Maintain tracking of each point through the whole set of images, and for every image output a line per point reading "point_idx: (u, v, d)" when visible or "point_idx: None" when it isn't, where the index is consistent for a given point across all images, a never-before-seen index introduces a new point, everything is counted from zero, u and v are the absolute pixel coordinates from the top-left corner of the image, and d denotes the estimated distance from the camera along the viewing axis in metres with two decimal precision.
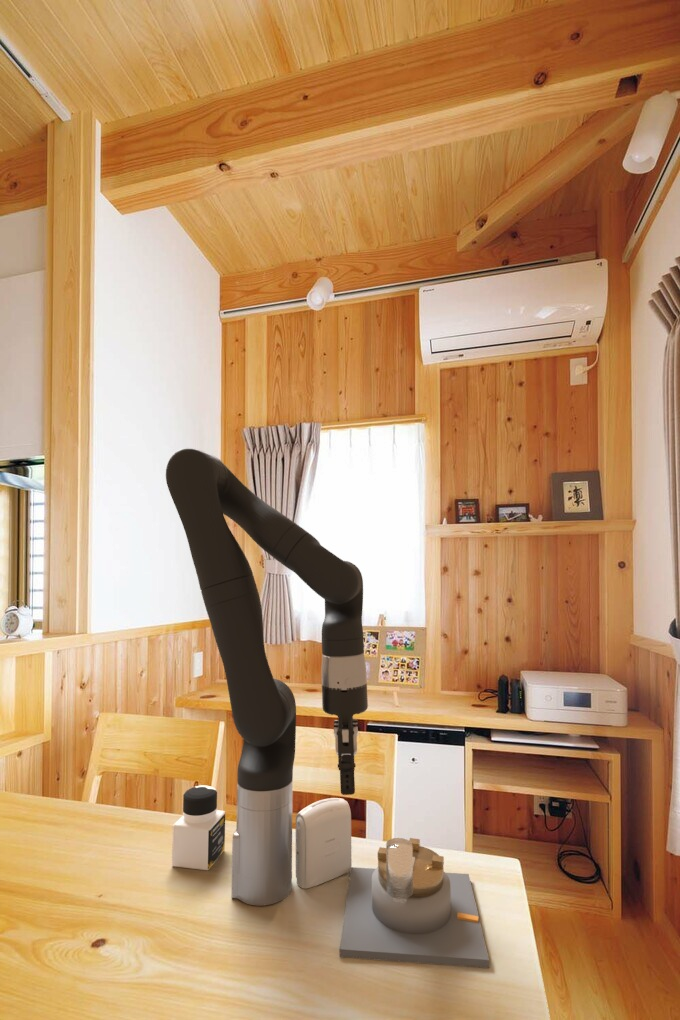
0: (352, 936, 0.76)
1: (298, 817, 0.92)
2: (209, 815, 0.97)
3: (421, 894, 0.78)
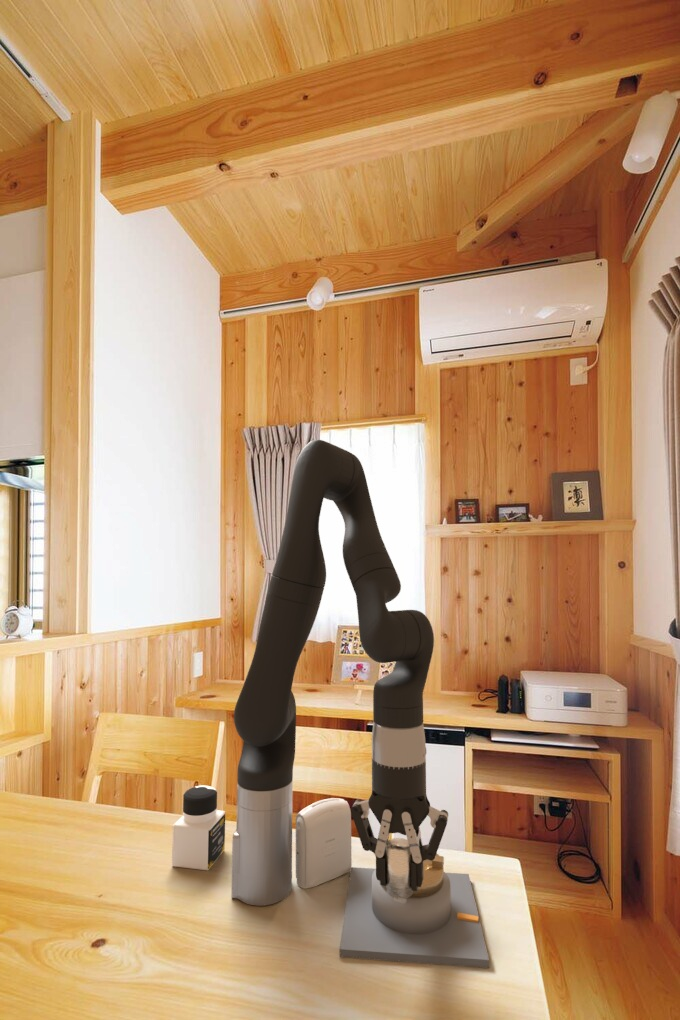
0: (352, 936, 0.76)
1: (298, 817, 0.92)
2: (209, 815, 0.97)
3: (421, 894, 0.78)
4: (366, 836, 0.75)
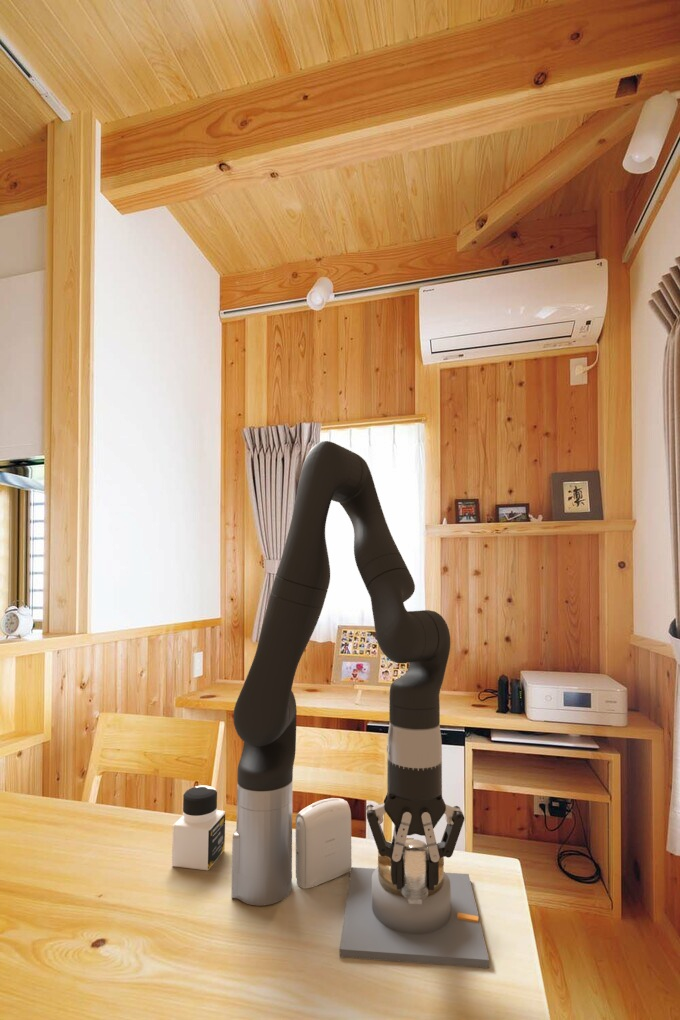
0: (352, 936, 0.76)
1: (298, 817, 0.92)
2: (209, 815, 0.97)
3: (427, 893, 0.79)
4: (383, 841, 0.73)
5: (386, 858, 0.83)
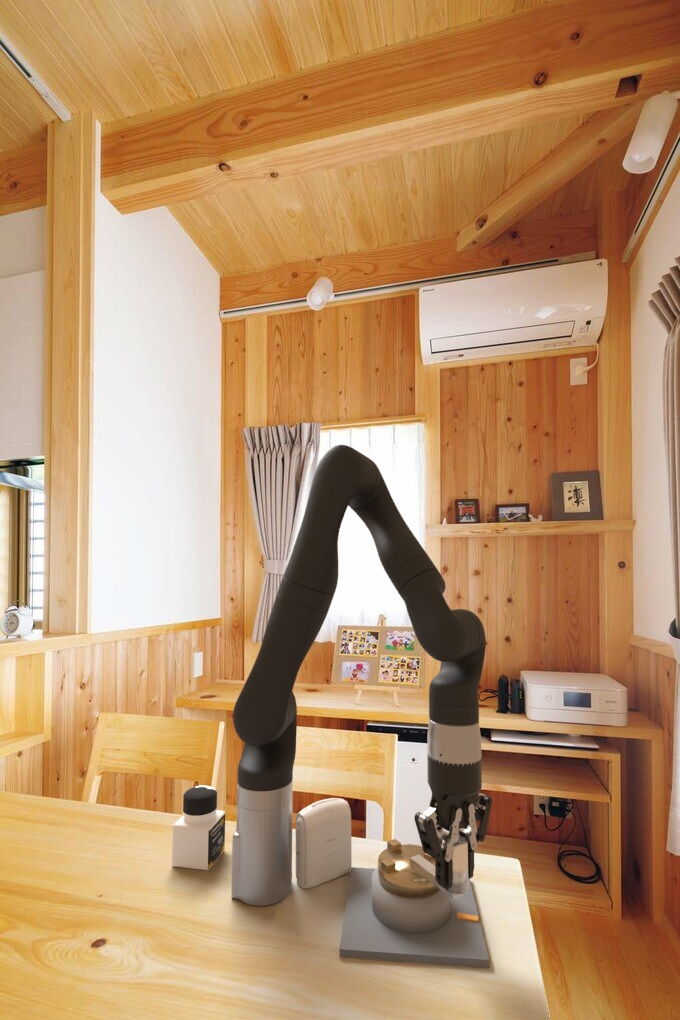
0: (352, 936, 0.76)
1: (298, 817, 0.92)
2: (209, 815, 0.97)
3: None
4: (439, 845, 0.72)
5: (394, 866, 0.81)
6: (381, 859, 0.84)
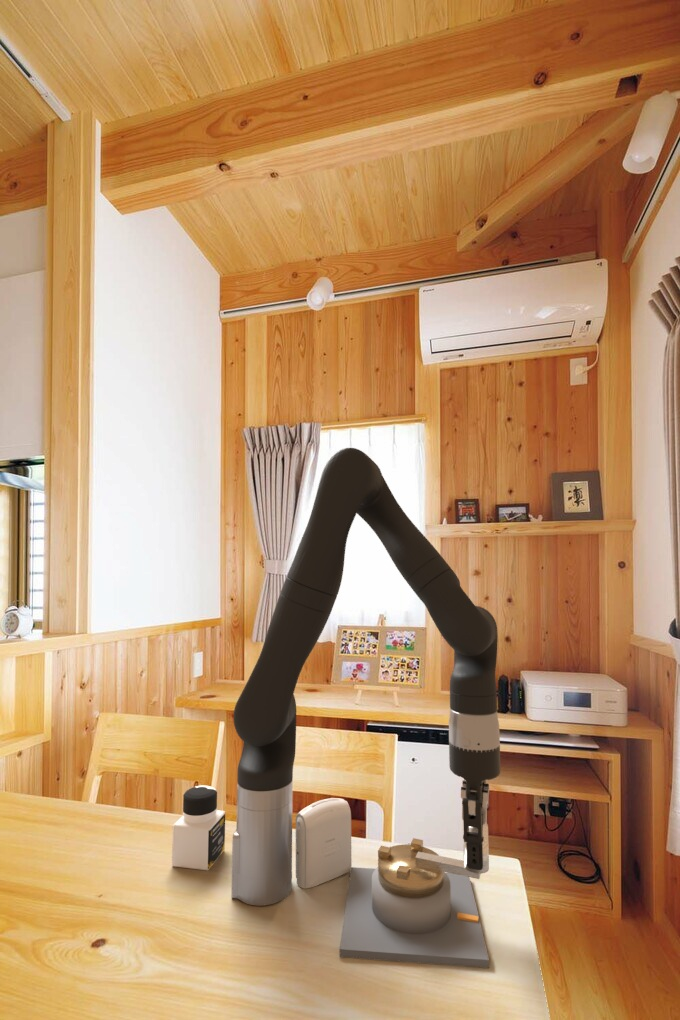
0: (352, 936, 0.76)
1: (298, 817, 0.92)
2: (209, 815, 0.97)
3: None
4: (481, 829, 0.76)
5: (409, 870, 0.80)
6: (387, 869, 0.81)
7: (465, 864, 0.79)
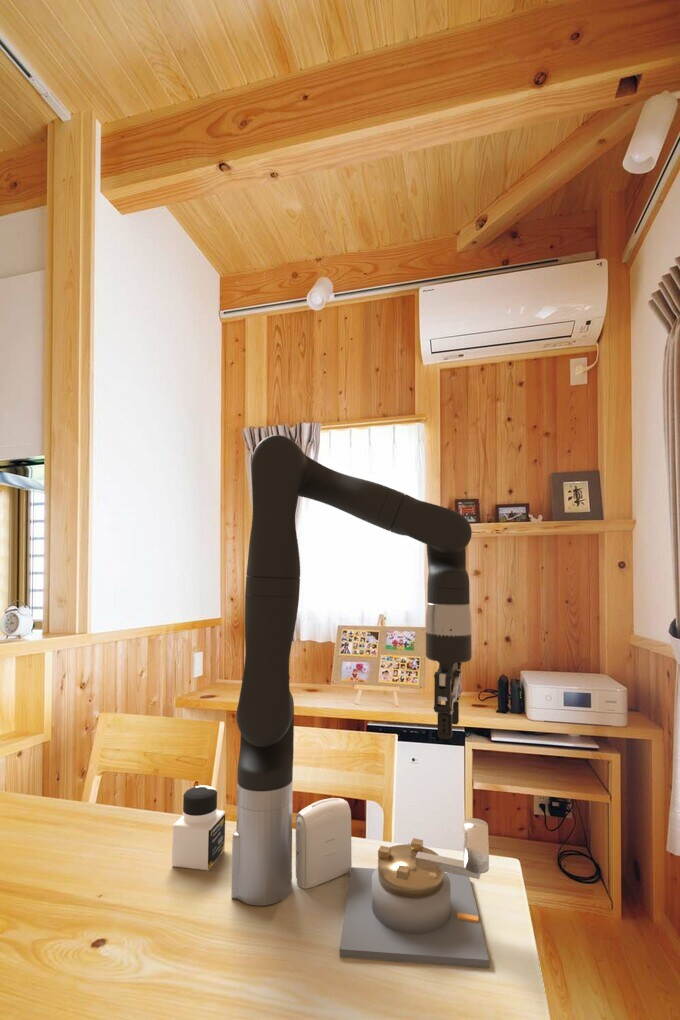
0: (352, 936, 0.76)
1: (298, 817, 0.92)
2: (209, 815, 0.97)
3: None
4: (450, 700, 0.84)
5: (409, 870, 0.80)
6: (387, 869, 0.81)
7: (465, 864, 0.79)
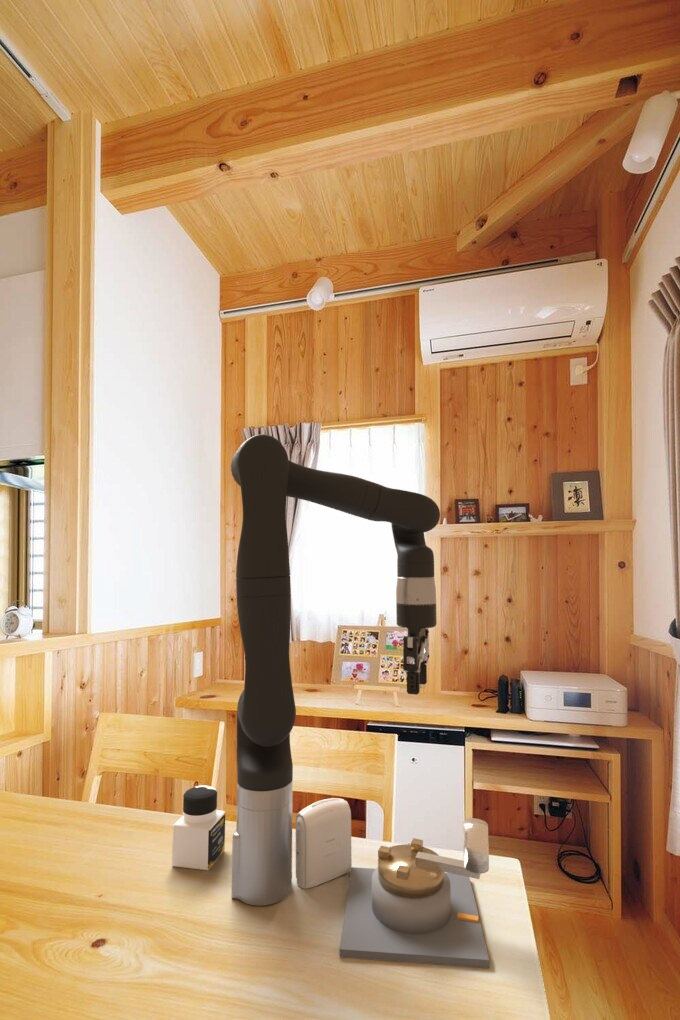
0: (352, 936, 0.76)
1: (298, 817, 0.92)
2: (209, 815, 0.97)
3: None
4: (417, 660, 0.96)
5: (409, 870, 0.80)
6: (387, 869, 0.81)
7: (465, 864, 0.79)
